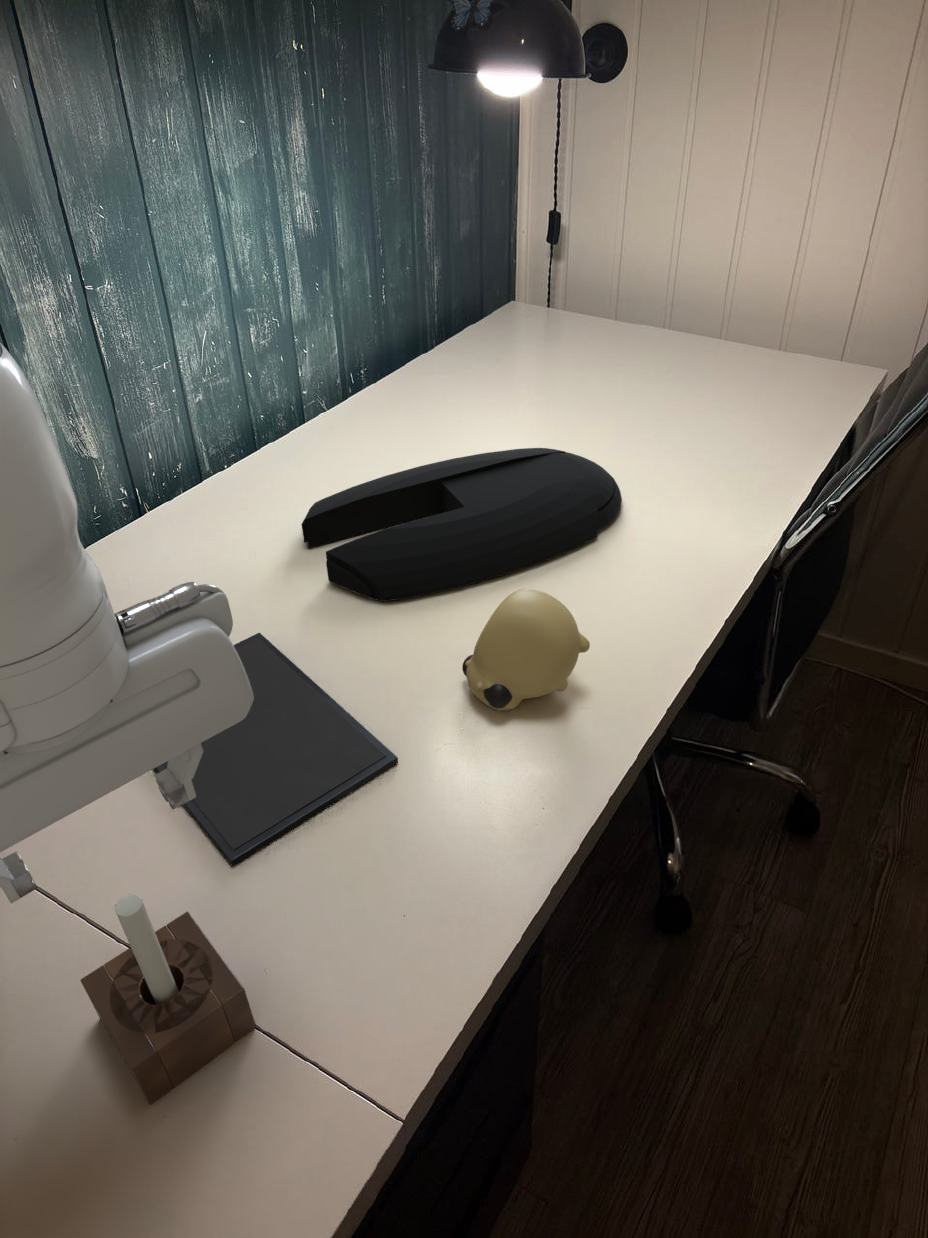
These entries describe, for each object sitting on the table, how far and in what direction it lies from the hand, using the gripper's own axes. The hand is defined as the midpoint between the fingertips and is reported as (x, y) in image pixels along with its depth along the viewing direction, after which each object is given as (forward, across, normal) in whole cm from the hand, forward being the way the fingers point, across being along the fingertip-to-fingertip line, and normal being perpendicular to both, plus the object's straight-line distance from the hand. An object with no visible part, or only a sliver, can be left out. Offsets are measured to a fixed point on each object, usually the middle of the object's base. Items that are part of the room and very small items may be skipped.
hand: (103, 841), depth 52 cm
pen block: (+20, 0, 0) cm, 20 cm away
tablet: (+20, -18, -21) cm, 34 cm away
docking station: (+21, -58, -35) cm, 71 cm away
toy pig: (+20, -42, -9) cm, 47 cm away
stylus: (+20, 0, 0) cm, 20 cm away
